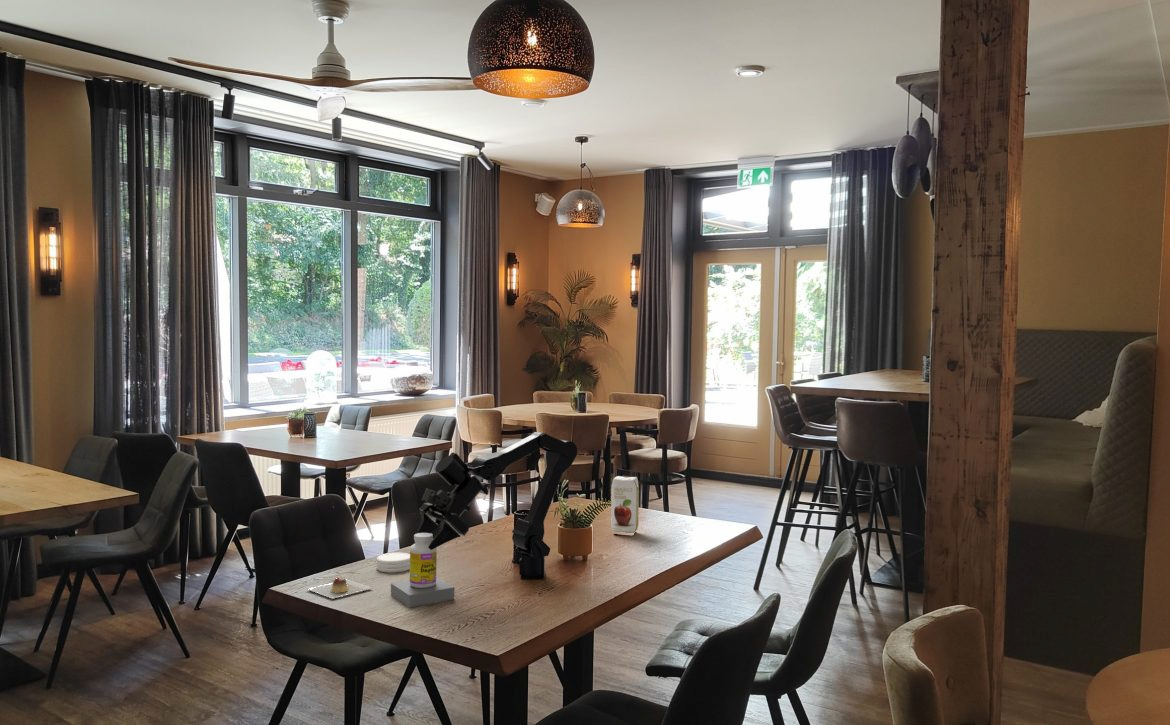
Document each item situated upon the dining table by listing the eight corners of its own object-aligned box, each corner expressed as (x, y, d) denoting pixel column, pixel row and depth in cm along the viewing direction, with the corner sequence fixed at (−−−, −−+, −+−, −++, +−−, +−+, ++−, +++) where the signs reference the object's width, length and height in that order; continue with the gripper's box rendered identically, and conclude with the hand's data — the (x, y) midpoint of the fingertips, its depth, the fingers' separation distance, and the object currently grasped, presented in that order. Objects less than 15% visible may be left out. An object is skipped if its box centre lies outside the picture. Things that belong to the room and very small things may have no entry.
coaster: (374, 565, 244) (373, 553, 244) (408, 562, 248) (408, 550, 248) (379, 575, 235) (379, 562, 235) (415, 571, 239) (415, 559, 239)
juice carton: (614, 530, 290) (615, 475, 289) (639, 532, 287) (640, 476, 287) (609, 535, 282) (610, 478, 282) (635, 537, 280) (635, 480, 280)
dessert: (306, 593, 219) (306, 574, 219) (346, 583, 228) (346, 565, 228) (332, 602, 211) (332, 583, 211) (372, 592, 220) (372, 573, 220)
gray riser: (434, 587, 223) (434, 576, 223) (454, 599, 213) (454, 587, 213) (390, 594, 216) (390, 583, 216) (409, 607, 206) (409, 595, 206)
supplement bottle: (418, 590, 210) (419, 539, 210) (404, 584, 215) (404, 534, 214) (441, 585, 215) (441, 534, 214) (427, 579, 219) (427, 530, 219)
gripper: (426, 472, 224) (386, 518, 218) (457, 482, 209) (415, 532, 203) (453, 498, 229) (415, 544, 223) (486, 510, 214) (445, 560, 208)
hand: (422, 544), depth 214 cm, fingers open, 9 cm apart
